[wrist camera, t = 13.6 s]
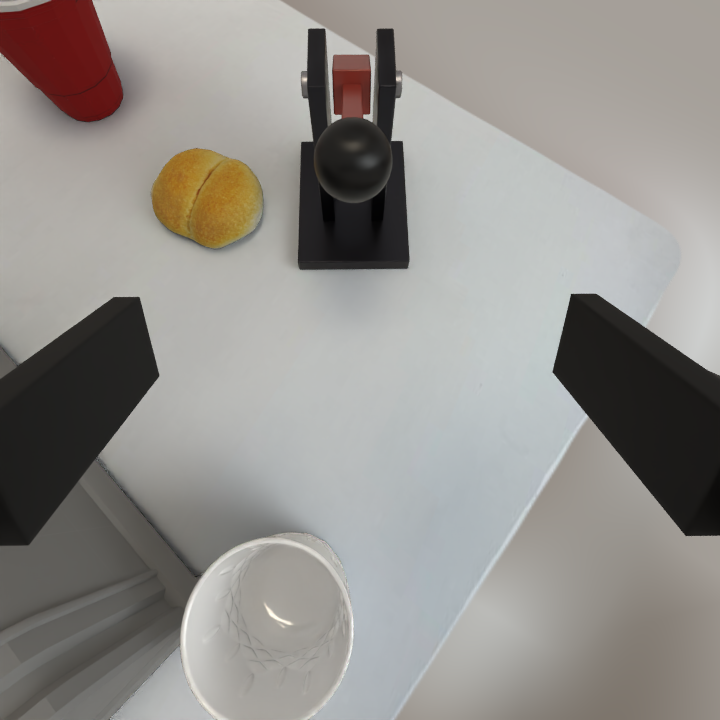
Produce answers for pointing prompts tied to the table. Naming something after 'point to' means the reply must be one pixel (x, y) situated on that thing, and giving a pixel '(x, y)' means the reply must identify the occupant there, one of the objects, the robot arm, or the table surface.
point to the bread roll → (207, 197)
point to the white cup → (268, 630)
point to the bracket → (340, 219)
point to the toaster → (86, 605)
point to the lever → (352, 137)
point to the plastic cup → (62, 54)
